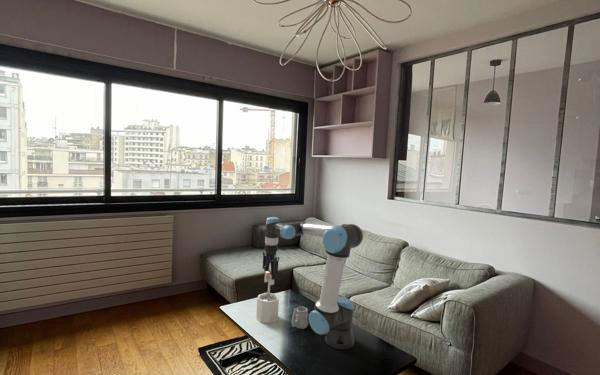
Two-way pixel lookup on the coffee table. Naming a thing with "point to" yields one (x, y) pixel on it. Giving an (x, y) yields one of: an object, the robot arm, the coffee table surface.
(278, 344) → the coffee table surface
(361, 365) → the coffee table surface
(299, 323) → the mug
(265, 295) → the octagonal white cup
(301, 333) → the coffee table surface
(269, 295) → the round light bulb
